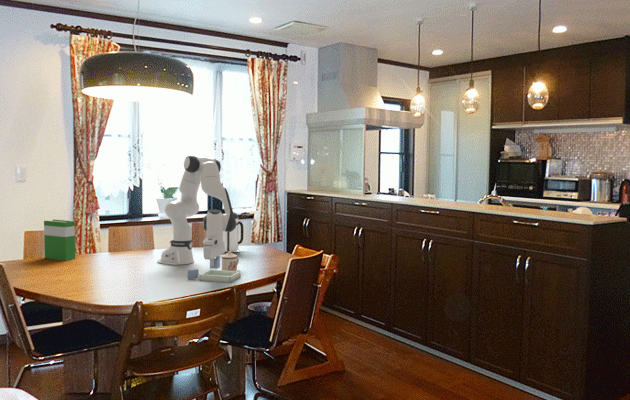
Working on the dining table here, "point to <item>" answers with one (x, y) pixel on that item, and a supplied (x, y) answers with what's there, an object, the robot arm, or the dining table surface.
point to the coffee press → (233, 237)
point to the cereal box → (59, 239)
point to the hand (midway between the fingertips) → (214, 264)
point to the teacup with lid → (229, 262)
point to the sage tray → (219, 276)
